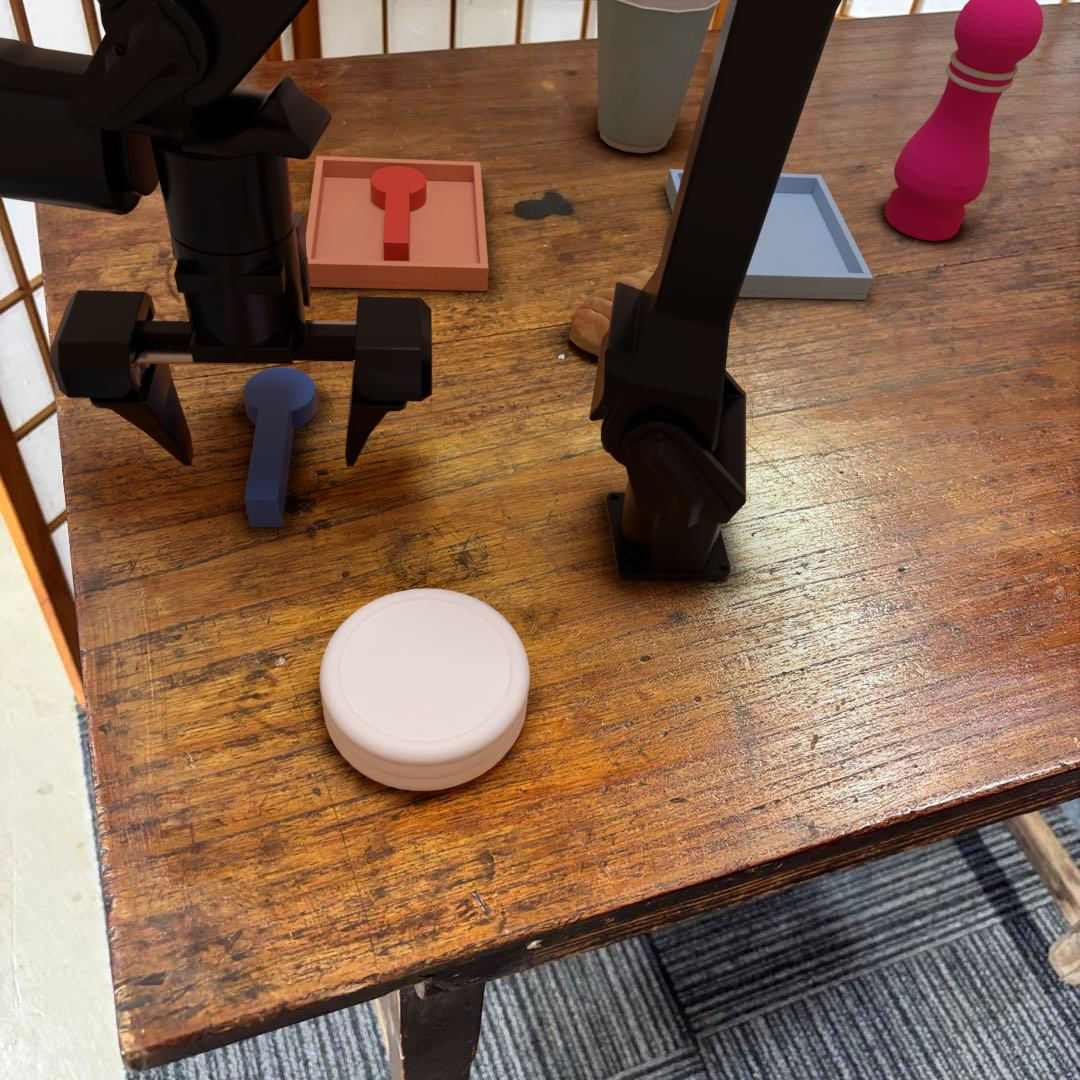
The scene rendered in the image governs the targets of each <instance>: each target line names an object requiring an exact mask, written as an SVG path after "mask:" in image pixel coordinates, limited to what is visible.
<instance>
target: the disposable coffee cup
mask: <svg viewBox="0 0 1080 1080" xmlns="http://www.w3.org/2000/svg"><path fill="white" fill-rule="evenodd" d="M720 2H721V0H596V21H597V22H596V27H597V28H596V29H597V30H596V31H597V32H596V34H597V35H596V38H597V39H596V40H597V43H596V45H597V47H596V48H597V49H596V50H597V52H596V53H597V130H598V131H599V138H600V139H601V140H602V141H603V142H605V144H606V145H608V146H610V147H612V148H615V149H617V150H620V151H623V152H628V153H635V154H647V153H655V152H658V151H660V150H661V149H662V148H664V147H666V146H667V144H668V141H669V140H670V139H671V138H672V136H673V133H674V130H675V127H676V124H677V122H678V118H679V116H680V113H681V110H682V107H683V104H684V101H685V98H686V95H687V93H688V89H689V87H690V83H691V80H692V78H693V75H694V71H695V69H696V66H697V63H698V60H699V57H700V54H701V51H702V49H703V46H704V44H705V40H706V37H707V34H708V31H709V28H710V26H711V22H712V20H713V16H714V14H715V11H716V8H717V5H718V4H719V3H720Z"/></svg>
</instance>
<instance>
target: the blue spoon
mask: <svg viewBox="0 0 1080 1080" xmlns="http://www.w3.org/2000/svg"><path fill="white" fill-rule="evenodd" d="M242 394H243V400H244V406H245V412H246V416H247V418H248V419H249V421H250V422H251V423H252V424H253V425H255V429H254V436H253V440H252V449H251V455H250V461H249V468H248V473H247V479H246V486H245V492H244V503H245V509H246V513H247V519H248V524H249V527H250V528H283V522H284V515H285V505H286V498H287V491H288V481H289V473H290V466H291V465H290V464H291V457H292V448H293V442H294V432H295V431H294V430H297V429H300V428H302V427H304V426H306V425H307V424H308V423H310V422H311V421H312V420H313V418H314V417H315V416H316V414H317V412H318V399H317V398H318V397H317V389H316V384H315V382H314V380H313V379H312V378H311V377H310V375H308V374H307V373H306V372H303V371H301V370H299V369H297V368H293V367H292V368H291V367H284V366H283V367H281V366H279V367H271V368H267V369H263V370H261V371H259V372H256V373H255V374H253V375H252V376H251V377H249V379H248V380H247V382H245V385H244V386H243V390H242Z"/></svg>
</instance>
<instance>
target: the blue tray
mask: <svg viewBox="0 0 1080 1080" xmlns="http://www.w3.org/2000/svg"><path fill="white" fill-rule="evenodd" d="M683 171H684V169H680V168H679V169H675V168H669V170H668V175H667V181H666V186H665V193H666V196H667V200H668V204H669V206H670V210H671V213H672V212H673V208H674V205H675V201H676V197H677V193H678V190H679V186H680V182H681V178H682V175H683ZM873 280H874V277H873V274H872V272H871V270H870V268H869V266H868V264H867V262H866V260H865V259H864V256H863V255H862V252H861V250H860V248H859V246H858V244H857V243H856V241H855V238H854V237H853V235H852V233H851V231H850V229H849V226H848V225H847V223H846V220H845V218H844V216H843V215H842V213H841V211H840V209H839V207H838V204H837V203H836V200H835V199H834V197H833V195H832V193H831V191H830V189H829V187H828V186H827V183H826V181H825V179H824V178H823V175H822V174H814V173H813V174H812V173H810V174H809V173H784V172H781V174H780V177H779V180H778V183H777V186H776V189H775V192H774V195H773V198H772V201H771V203H770V206H769V209H768V212H767V215H766V218H765V221H764V224H763V227H762V230H761V233H760V236H759V239H758V241H757V244H756V247H755V250H754V253H753V256H752V259H751V262H750V265H749V268H748V271H747V274H746V276H745V279H744V282H743V285H742V288H741V291H740V294H739V297H738V298H762V299H763V298H764V299H765V298H767V299H769V298H770V299H807V300H808V299H810V300H811V299H812V300H814V299H815V300H819V299H820V300H821V299H822V300H849V301H850V300H852V301H853V300H856V301H857V300H858V301H865V300H866V299H867V297H868V293H869V291H870V288H871V286H872V283H873Z"/></svg>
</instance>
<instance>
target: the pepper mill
mask: <svg viewBox="0 0 1080 1080" xmlns="http://www.w3.org/2000/svg"><path fill="white" fill-rule="evenodd" d="M1043 28H1044V15H1043V10H1042V7H1041V5H1040V3H1039V2H1038V1H1037V0H968V1H967V2H966V3H965V4H964V6H963V7H962V9H961V11H960V12H959V13H958V16H957V19H956V20H955V25H954V31H953V36H954V41H955V43H956V46H957V49H955V50H954V51H952V53H950V56H949V57H950V59H949V60H950V61H949V63H948V64H947V65H946V67H945V73H946V75H947V77H948V78H947V81H946V84H945V87H944V91H943V93H942V96H941V98H940V100H939V102H938V104H937V106H936V107H935V109H934V111H933V112H932V114H931V115H930V117H929V118H928V119H926V121H925V122H924V123H923V124H922V126H921V127H920V128H919V129H918V130H917V131H916V132H915V133H914V134H913V135H912V136H911V137H910V138H909V139H908V141H907V142H906V144H904V147H903V148H902V149H901V151H900V154H899V156H898V158H897V160H896V162H895V164H894V169H893V176H894V180H895V183H896V185H897V187H896V188H894V189H893V190H892V191H891V193H890V195H889V197H888V201H887V203H886V207H885V209H884V217H885V219H886V221H887V222H888V224H889V226H891V227H892V228H894V229H895V230H897V231H898V232H899V233H902V234H904V235H906V236H909V237H911V238H913V239H916V240H917V239H918V240H922V241H930V242H932V241H933V242H934V241H935V242H941V241H944V240H949V239H951V238H952V237H954V236H955V235H957V234H958V232H959V230H960V228H961V225H962V222H963V220H964V218H965V216H966V207H965V206H966V205H969V204H970V203H972V202H973V201H975V200H976V199H977V198H978V197H979V196H980V195H981V194H982V192H983V190H984V187H985V184H986V181H987V178H988V176H989V175H988V174H989V167H990V162H991V161H990V160H991V159H990V155H991V154H990V143H991V141H990V139H991V138H990V136H991V126H992V120H993V116H994V113H995V110H996V108H997V104H998V102H999V100H1000V98H1001V96H1002V94H1003V92H1006V91H1008V90H1009V89H1011V88H1012V86H1013V84H1014V79H1015V77H1016V76H1017V75H1018V72H1019V66H1018V65H1017V64H1018V63H1019V62H1021V61H1022V60H1024V59H1026V58H1027V57H1029V56H1030V55H1031V53H1033V52H1034V50H1035V49H1036V47H1037V45H1038V43H1039V41H1040V39H1041V36H1042V33H1043Z"/></svg>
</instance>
